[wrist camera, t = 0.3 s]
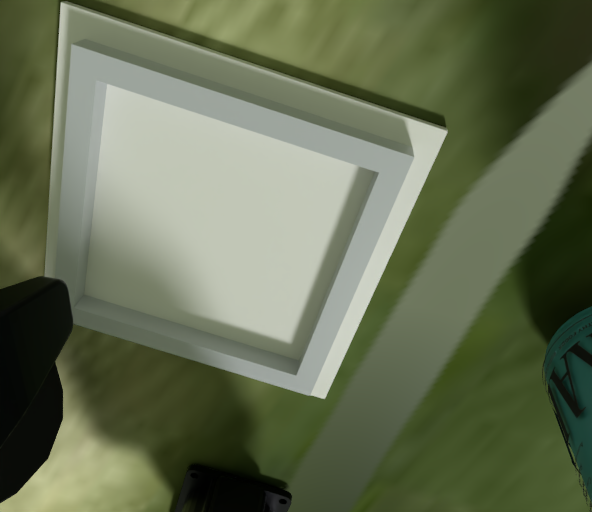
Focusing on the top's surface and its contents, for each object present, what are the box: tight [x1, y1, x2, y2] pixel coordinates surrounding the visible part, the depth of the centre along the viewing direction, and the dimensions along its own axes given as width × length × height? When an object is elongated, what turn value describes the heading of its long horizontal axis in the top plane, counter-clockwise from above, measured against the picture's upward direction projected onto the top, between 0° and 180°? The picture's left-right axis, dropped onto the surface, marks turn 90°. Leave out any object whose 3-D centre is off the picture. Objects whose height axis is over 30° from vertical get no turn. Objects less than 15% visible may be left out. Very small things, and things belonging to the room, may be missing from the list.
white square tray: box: [44, 1, 448, 399], centre depth 24 cm, size 15×15×2 cm
